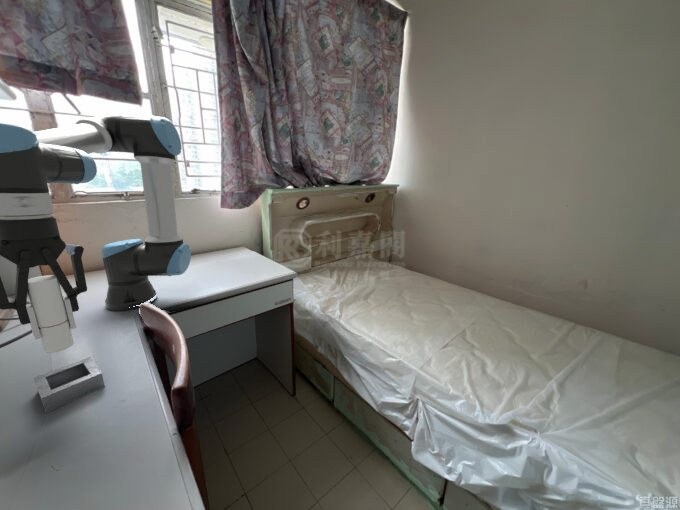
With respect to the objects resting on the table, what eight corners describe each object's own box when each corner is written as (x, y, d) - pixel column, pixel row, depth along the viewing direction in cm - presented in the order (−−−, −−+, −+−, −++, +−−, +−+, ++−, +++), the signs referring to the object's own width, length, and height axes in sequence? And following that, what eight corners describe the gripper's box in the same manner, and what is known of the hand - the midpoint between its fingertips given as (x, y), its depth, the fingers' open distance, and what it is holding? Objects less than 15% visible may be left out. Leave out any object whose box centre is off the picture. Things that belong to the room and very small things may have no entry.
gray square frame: (37, 391, 57) (33, 377, 56) (92, 369, 64) (89, 357, 63) (46, 413, 52) (41, 398, 51) (104, 386, 59) (101, 373, 58)
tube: (79, 341, 57) (63, 275, 54) (60, 353, 53) (41, 282, 50) (58, 341, 57) (41, 274, 53) (37, 353, 53) (17, 282, 49)
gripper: (-60, 223, 40) (-13, 359, 45) (94, 215, 53) (114, 320, 59) (-59, 218, 44) (-16, 343, 50) (83, 212, 57) (104, 311, 63)
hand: (55, 331), depth 54 cm, fingers closed on tube, 4 cm apart
